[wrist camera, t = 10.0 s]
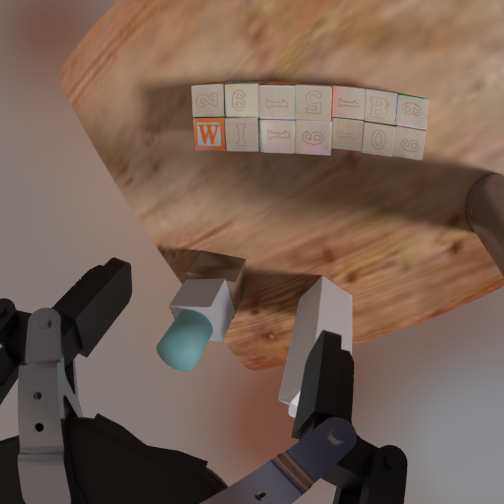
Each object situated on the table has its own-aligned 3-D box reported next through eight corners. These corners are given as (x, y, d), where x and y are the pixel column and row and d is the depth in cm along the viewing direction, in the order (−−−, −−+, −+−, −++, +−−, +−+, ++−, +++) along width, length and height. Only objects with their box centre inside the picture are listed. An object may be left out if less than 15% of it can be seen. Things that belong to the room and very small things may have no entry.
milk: (328, 316, 50) (312, 440, 32) (298, 298, 49) (270, 422, 31) (352, 294, 47) (349, 424, 29) (322, 274, 46) (304, 405, 28)
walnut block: (245, 258, 48) (234, 282, 43) (243, 294, 52) (233, 319, 47) (202, 249, 49) (187, 272, 44) (202, 285, 53) (189, 308, 48)
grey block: (225, 278, 43) (210, 307, 38) (235, 311, 46) (222, 341, 41) (186, 279, 45) (168, 305, 40) (198, 310, 48) (183, 338, 43)
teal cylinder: (214, 317, 39) (196, 350, 34) (210, 344, 41) (193, 376, 36) (178, 304, 39) (156, 334, 34) (177, 331, 42) (157, 361, 37)
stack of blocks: (408, 93, 30) (440, 102, 20) (403, 143, 34) (431, 173, 23) (230, 80, 35) (188, 85, 25) (232, 128, 38) (192, 151, 28)
